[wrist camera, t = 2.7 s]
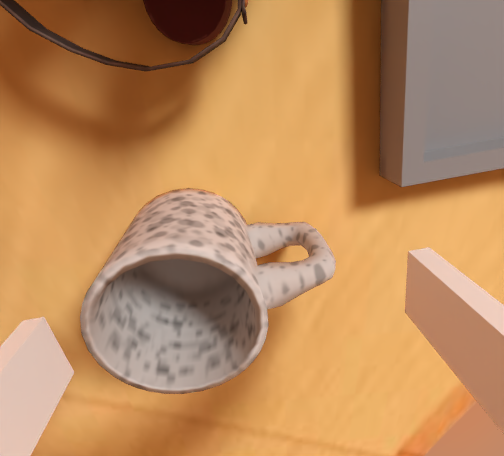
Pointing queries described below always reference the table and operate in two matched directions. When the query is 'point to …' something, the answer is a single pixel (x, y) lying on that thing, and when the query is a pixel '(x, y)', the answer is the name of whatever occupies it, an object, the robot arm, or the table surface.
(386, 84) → the tray
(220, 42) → the binoculars
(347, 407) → the table surface
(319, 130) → the table surface
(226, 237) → the mug
